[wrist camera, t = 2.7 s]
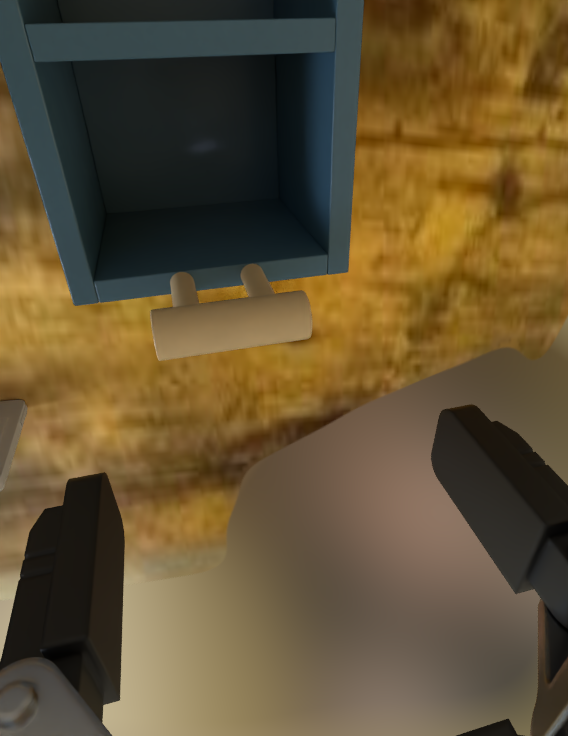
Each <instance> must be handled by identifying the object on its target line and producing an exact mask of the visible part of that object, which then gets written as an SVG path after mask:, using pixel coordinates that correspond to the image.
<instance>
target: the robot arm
mask: <svg viewBox="0 0 568 736" xmlns="http://www.w3.org/2000/svg"><path fill="white" fill-rule="evenodd" d="M431 460H432V466H433V470H434V472H435V475H436V477H437V478H438V480H439V481H440V483H441V484H442V486H443V487H444V489H445V490H446V492H447V493H448V495H449V496H450V498H451V499H452V500H453V502H454V503H455V505H456V506H457V508H458V509H459V511H460V512H461V514H462V515H463V517H464V518H465V520H466V521H467V523H468V524H469V526H470V527H471V529H472V530H473V532H474V533H475V534H476V536H477V537H478V539H479V540H480V542H481V543H482V545H483V546H484V548H485V549H486V551H487V552H488V554H489V555H490V557H491V558H492V560H493V561H494V563H495V564H496V566H497V567H498V568H499V570H500V571H501V573H502V575H503V576H504V577H505V579H506V580H507V582H508V583H509V585H510V586H511V588H512V589H513V591H514V592H515V594H517V593H521V592H525V591H528V590H531V589H535V591H536V592H537V593H538V595H539V596H540V598H541V599H540V602H539V605H538V693H537V699H536V704H535V707H534V711H533V715H532V721H531V730H530V736H568V485H567V484H566V483H565V482H564V481H563V480H562V479H561V478H560V477H559V476H558V475H557V474H556V473H555V472H554V471H553V470H552V469H551V468H550V467H549V465H545V461H543V459H542V458H541V457H540V456H539V455H538V454H537V453H536V452H533V450H532V448H531V447H530V446H529V445H528V443H526V441H525V440H524V439H523V438H522V437H521V436H520V435H519V434H518V433H517V432H515V431H513V430H511V429H510V428H508V427H507V426H505V425H503V424H502V423H500V422H498V421H494V422H491V421H490V420H489V419H488V418H487V417H486V416H485V414H484V413H483V412H482V411H481V410H480V409H479V408H478V407H477V406H475V405H465V406H461V407H455V408H450V409H445V410H442V411H441V413H440V415H439V419H438V424H437V429H436V434H435V439H434V443H433V448H432V453H431ZM124 548H125V541H124V529H123V523H122V518H121V515H120V512H119V509H118V506H117V503H116V500H115V497H114V494H113V491H112V488H111V485H110V482H109V479H108V476H107V474H106V473H105V472H104V473H99V474H93V475H88V476H83V477H77V478H72V479H69V480H68V482H67V485H66V490H65V496H64V503H63V505H62V506H57V507H52V508H47V509H45V510H44V511H43V513H42V514H41V516H40V517H39V518H38V520H37V521H36V523H35V524H34V526H33V527H32V529H31V530H30V533H29V537H28V542H27V546H26V551H25V555H24V556H25V560H23V564H22V569H21V573H20V577H21V579H20V580H19V582H18V586H17V591H16V595H15V600H14V604H13V609H12V613H11V618H10V623H9V627H8V631H7V636H6V641H5V645H4V649H3V654H2V658H1V661H0V736H112V735H111V734H110V732H109V731H108V730H107V729H106V727H105V726H104V725H103V723H102V718H103V705H105V704H109V703H112V702H116V701H119V700H120V679H121V678H120V677H121V647H122V645H121V644H122V614H123V613H122V612H123V581H124ZM457 736H523V735H517V734H516V731H515V730H514V728H513V726H512V724H511V722H510V720H509V719H506V720H503V721H500V722H496V723H493V724H491V725H487V726H484V727H481V728H478V729H475V730H472V731H469V732H466V733H463V734H460V735H457Z"/></svg>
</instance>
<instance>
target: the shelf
mask: <svg viewBox="0 0 568 736" xmlns="http://www.w3.org/2000/svg"><path fill="white" fill-rule="evenodd" d="M363 8H364V0H0V62H1V66H2V69H3V72H4V75H5V79H6V82H7V85H8V89H9V92H10V95H11V99H12V102H13V105H14V109H15V112H16V115H17V118H18V122H19V125H20V128H21V132H22V135H23V138H24V142H25V145H26V148H27V152H28V155H29V158H30V162H31V165H32V168H33V171H34V175H35V178H36V181H37V185H38V188H39V191H40V195H41V198H42V201H43V205H44V208H45V211H46V214H47V218H48V221H49V224H50V228H51V231H52V234H53V238H54V241H55V244H56V248H57V251H58V254H59V257H60V261H61V264H62V267H63V271H64V274H65V277H66V281H67V284H68V287H69V291H70V294H71V297H72V300H73V304H74V305H75V306H78V305H86V304H94V303H98V302H101V303H102V302H110V301H118V300H126V299H134V298H142V297H150V296H158V295H166V294H172V302H173V307H170V308H162V309H154V310H151V312H150V318H151V326H152V333H153V339H154V344H155V349H156V354H157V357H158V360H159V361H162V360H169V359H176V358H183V357H189V356H196V355H203V354H209V353H216V352H223V351H230V350H236V349H243V348H250V347H256V346H263V345H270V344H277V343H283V342H290V341H297V340H304V339H309V338H310V337H311V333H312V314H311V308H310V303H309V300H308V297H307V295H306V293H305V292H304V291H294V292H286V293H278V294H275V293H274V291H273V289H272V287H271V285H270V283H269V282H271V281H279V280H287V279H295V278H304V277H312V276H320V275H326V274H328V275H330V274H338V273H346V272H348V265H349V248H350V231H351V214H352V196H353V179H354V162H355V145H356V128H357V111H358V93H359V76H360V59H361V42H362V25H363ZM239 285H244V287H245V289H246V291H247V294H248V296H249V297H247V298H239V299H232V300H224V301H216V302H208V303H201V304H199V301H198V297H197V292H196V291H199V290H207V289H215V288H223V287H231V286H239Z"/></svg>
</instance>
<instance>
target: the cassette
mask: <svg viewBox="0 0 568 736" xmlns="http://www.w3.org/2000/svg"><path fill="white" fill-rule="evenodd" d="M26 414H27V405H25V402H24V400H9V401H0V491H1V490H3V488H4V486H5V483H6V480H7V477H8V473H9V470H10V467H11V463H12V460H13V457H14V454H15V450H16V447H17V444H18V440H19V437H20V434H21V430H22V427H23V424H24V420H25V417H26Z"/></svg>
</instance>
